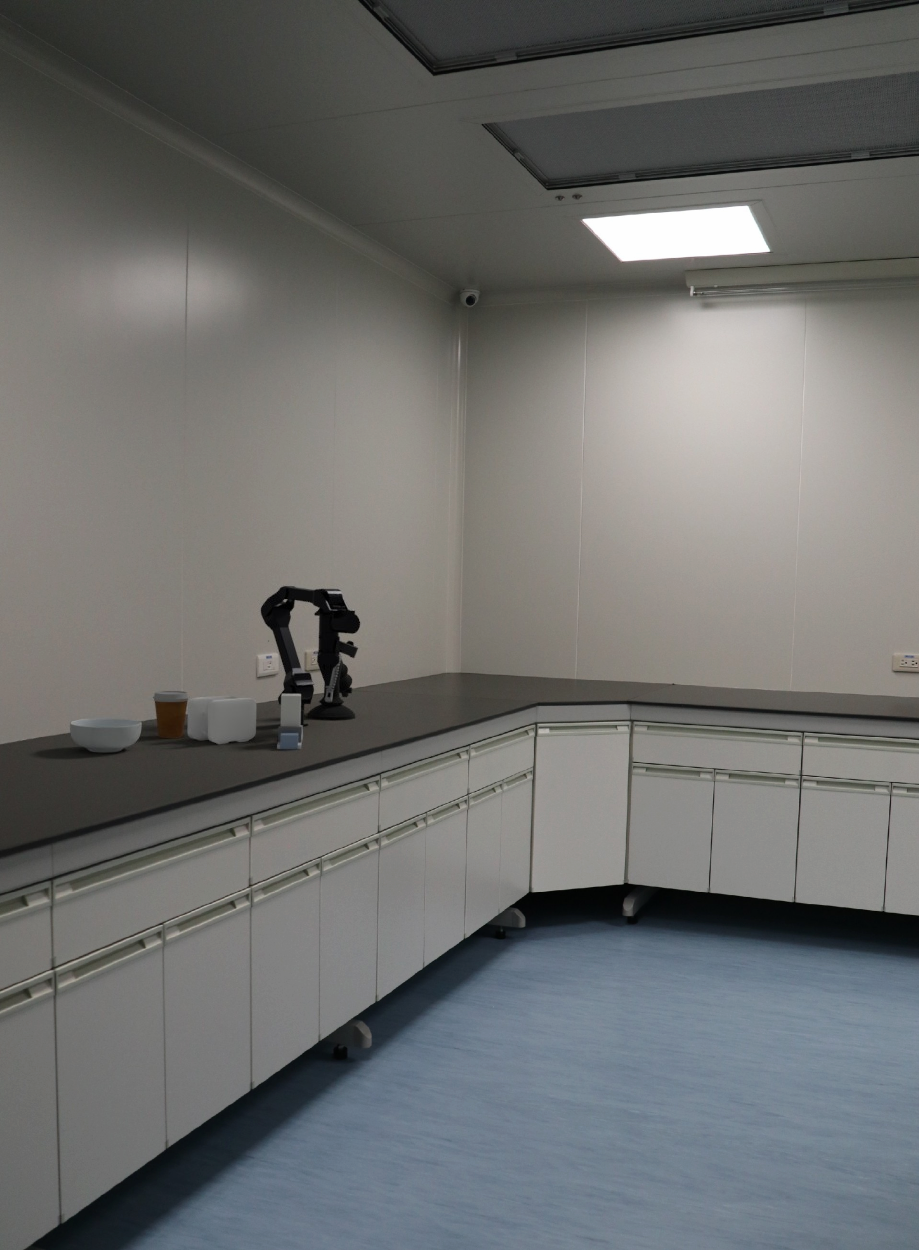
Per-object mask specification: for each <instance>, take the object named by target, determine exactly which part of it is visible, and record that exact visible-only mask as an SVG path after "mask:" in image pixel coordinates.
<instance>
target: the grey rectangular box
mask: <svg viewBox="0 0 919 1250" xmlns="http://www.w3.org/2000/svg"><path fill="white" fill-rule="evenodd" d="M300 718H301V694H282V695H281V705H280V723H281V724H280V726H300Z"/></svg>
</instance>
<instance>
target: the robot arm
mask: <svg viewBox="0 0 919 1250" xmlns="http://www.w3.org/2000/svg"><path fill="white" fill-rule="evenodd" d="M296 601H298V602H304V603H310V604H312V605H313V606H314V607H317V608H318V610H317V611H315V612H314V616H315V617H316V616H317V617H318V647H317V648H318V650H317V656H316V663H317V665H318V668H319V671H320V674H321V676H322V679H323V682H324V683H325V685H326V686H330V681H331V677H332V672H333V668H334V667H335V666H336V665H338V663H339V652H341V654H343V655H346V656H349V657H350V658H352V659H355V658H356V655H357V653H358V650H359V647H357V646H355V645H354V644H355V642H354V641H351V640H347V641H346V642H345V641H341V638H340V634H348V635H349V634H352V635H353V634H357V632H358V631H359V630H360V626H361V621H360V618H359V616H358V615H357V614H356V609H350V608H349V605H348V604H347V601H346V599H345V597H344V595H343V593H342V590H341V589H339V588H317V589H316V588H315V589H310V588H304V587H303V588H302V587H297V586H293V585H283V586H281V587H279V588H278V591H276V592H274V593H273V594H272V595H270V596H268V598H267V599H266V600H265V601H264V602H263V603H262V605H261V607H260V616H261V618H262V620H263V622H264V624H265V625H266V626H267V627H268V628H269V629H270V630H271V631H272V633H273V636H274V640H275V643H276V648H277V650H278V653H279V657H280V660H281V663H282V668H283V670H284V675H285V676H284V680H283V684H282V685H283V690H282V691H281V693H280V694H279V695H278V696H277V701H278V705H280V706H281V695H282V694H301V718H300V725H303V727H304V726H309V723H308V722H305V705H311V704H312V701H313V700H312V699H313V695H314V692H315V687H314V685H315V683H314V681H313V678H312V674H311V672H308V671H307V672H305V671H304V670H303V668H302V666H301V662H300V660H299V656H298V652H297V649H296V646H295V644H294V638H293V637H292V632H291V630H290V626H289V625H290V623H291V619H292V618H291V617H292V615H291V612H292V611H293V609H294V608H295V603H296ZM279 723H280V725H281V722H279Z"/></svg>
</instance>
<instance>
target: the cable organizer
mask: <svg viewBox="0 0 919 1250" xmlns="http://www.w3.org/2000/svg"><path fill="white" fill-rule="evenodd" d="M186 733H187V736H188V737H189V738H191V739H194V740H197V741H208V740H209V741H210V742H212V743H216V745H224V744H229V742H230V743H231V742H236V743H242V742H243V743H244V742H249V740H251V739H253V738H254V737H255V736H256V733H257V701H256V700H255V699H254V698H251V697H239V698H237V697H236V696H235V695H219V696H218V695H217V696H203V697H201V696H200V697H193V698H192V699H190V700H188V702H187V732H186Z"/></svg>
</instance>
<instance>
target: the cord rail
mask: <svg viewBox="0 0 919 1250" xmlns="http://www.w3.org/2000/svg"><path fill="white" fill-rule="evenodd" d="M303 727H304V726H303V725H300V726H281V725H280V726H279V725H278V727H277V728H278V731H277V733H278V734H277V744H276V749H277V750H301V749H302V744H303V738H304V732H303V731H304V730H303Z"/></svg>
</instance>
